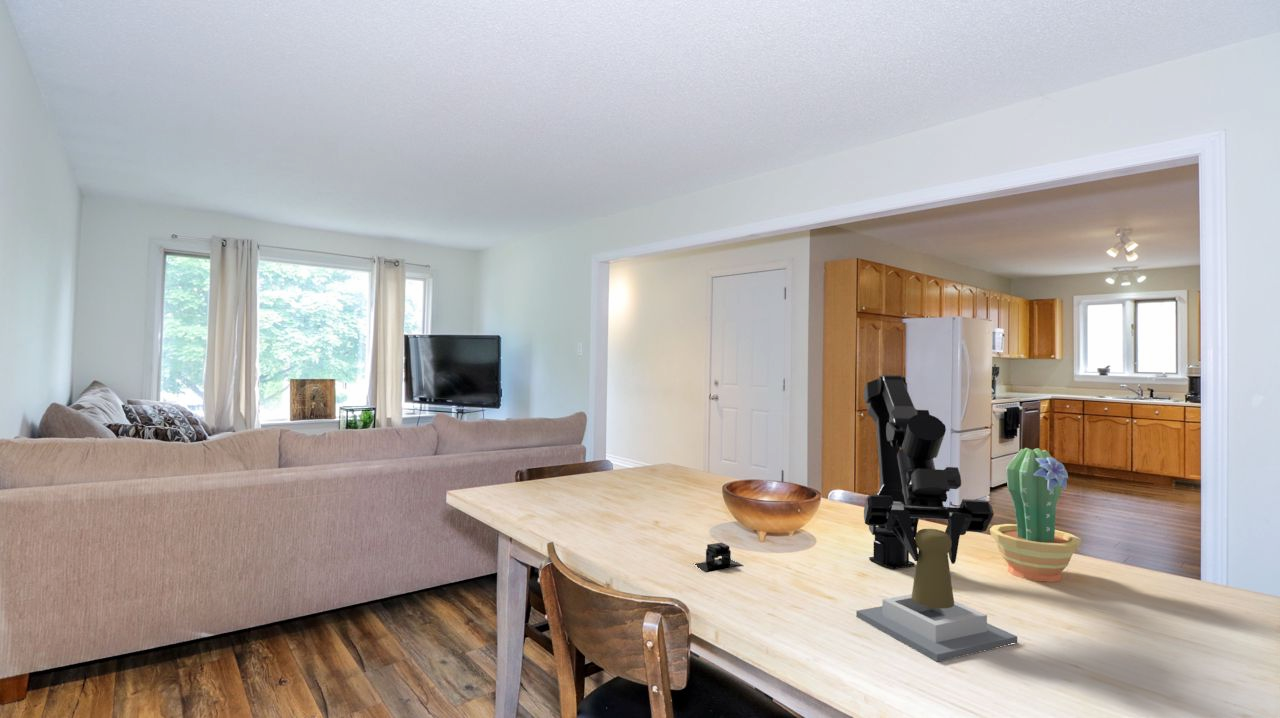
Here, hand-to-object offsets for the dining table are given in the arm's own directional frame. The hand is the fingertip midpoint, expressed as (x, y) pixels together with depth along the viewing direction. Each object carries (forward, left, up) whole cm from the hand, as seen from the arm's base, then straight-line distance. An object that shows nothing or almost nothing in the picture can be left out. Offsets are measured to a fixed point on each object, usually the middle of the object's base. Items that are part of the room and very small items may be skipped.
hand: (935, 561), depth 93 cm
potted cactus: (-41, -13, -11) cm, 44 cm away
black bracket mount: (+16, -40, -12) cm, 44 cm away
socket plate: (-1, -1, -11) cm, 11 cm away
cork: (-1, -1, -7) cm, 7 cm away
